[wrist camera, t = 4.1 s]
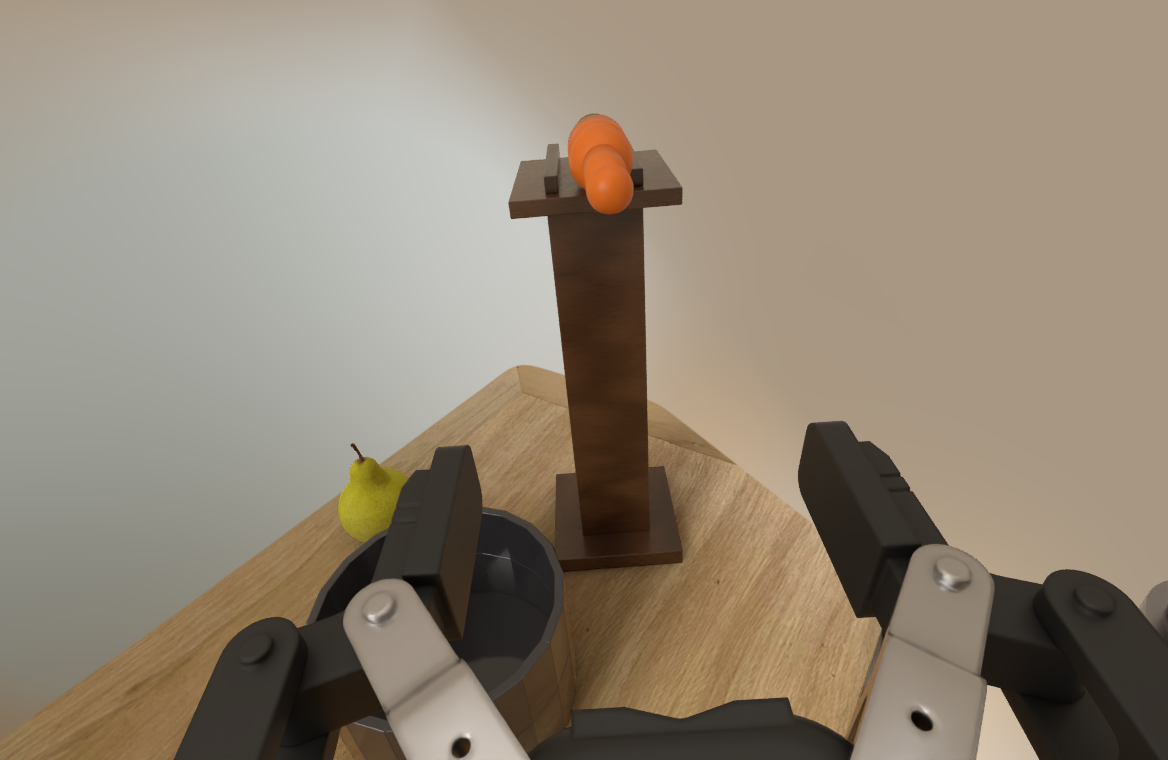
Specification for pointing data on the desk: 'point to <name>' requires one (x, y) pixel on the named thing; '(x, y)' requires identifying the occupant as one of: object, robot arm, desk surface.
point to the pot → (487, 632)
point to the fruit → (369, 498)
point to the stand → (604, 365)
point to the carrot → (602, 162)
